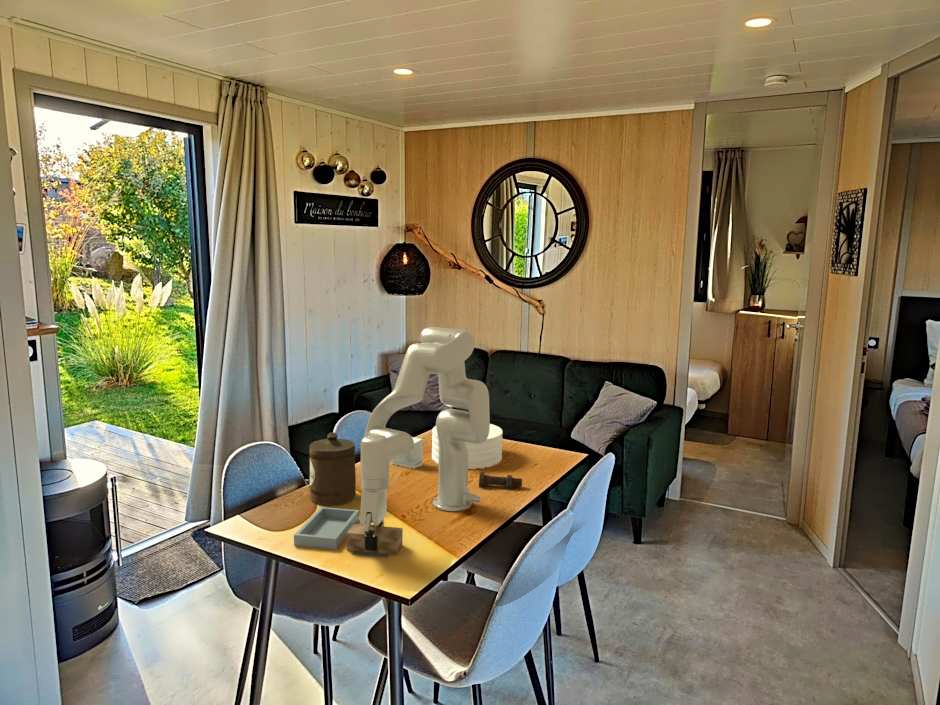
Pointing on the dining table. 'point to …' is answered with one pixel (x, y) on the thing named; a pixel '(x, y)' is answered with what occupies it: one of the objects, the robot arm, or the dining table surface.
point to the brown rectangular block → (386, 539)
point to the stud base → (370, 554)
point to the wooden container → (332, 471)
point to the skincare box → (412, 456)
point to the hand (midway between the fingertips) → (374, 543)
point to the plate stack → (477, 449)
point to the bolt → (499, 481)
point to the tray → (326, 528)
